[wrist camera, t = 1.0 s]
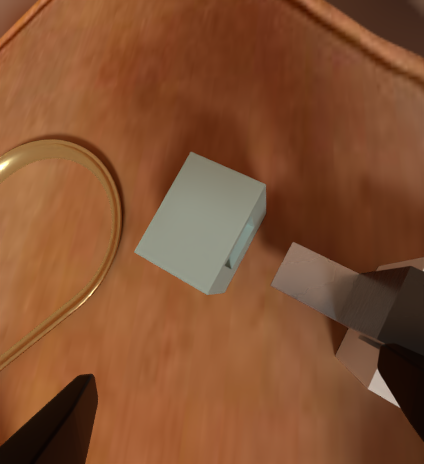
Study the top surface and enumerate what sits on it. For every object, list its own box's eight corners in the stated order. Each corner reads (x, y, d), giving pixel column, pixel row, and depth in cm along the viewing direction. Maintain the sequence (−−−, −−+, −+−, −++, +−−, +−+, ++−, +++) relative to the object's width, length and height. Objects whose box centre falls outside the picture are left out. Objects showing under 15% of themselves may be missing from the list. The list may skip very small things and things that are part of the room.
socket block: (266, 213, 24) (265, 184, 17) (224, 292, 23) (206, 294, 17) (211, 187, 25) (191, 151, 19) (170, 261, 25) (134, 252, 18)
